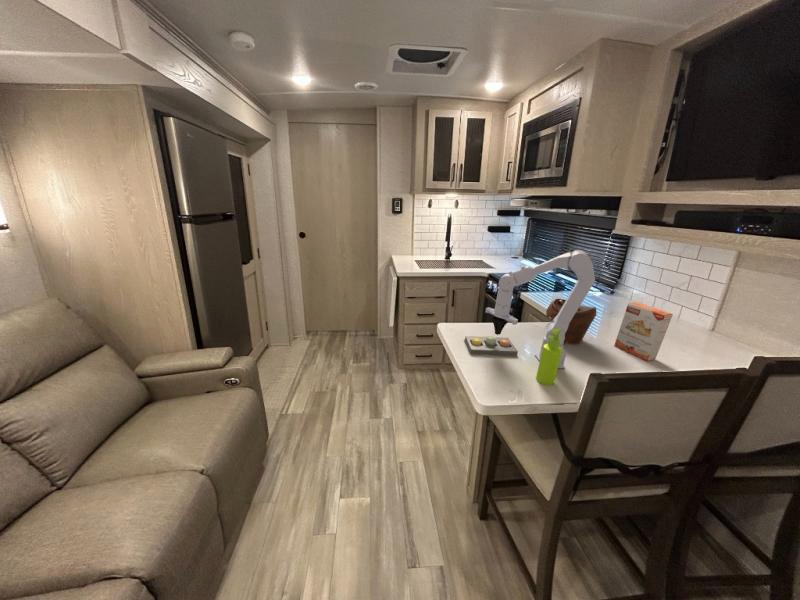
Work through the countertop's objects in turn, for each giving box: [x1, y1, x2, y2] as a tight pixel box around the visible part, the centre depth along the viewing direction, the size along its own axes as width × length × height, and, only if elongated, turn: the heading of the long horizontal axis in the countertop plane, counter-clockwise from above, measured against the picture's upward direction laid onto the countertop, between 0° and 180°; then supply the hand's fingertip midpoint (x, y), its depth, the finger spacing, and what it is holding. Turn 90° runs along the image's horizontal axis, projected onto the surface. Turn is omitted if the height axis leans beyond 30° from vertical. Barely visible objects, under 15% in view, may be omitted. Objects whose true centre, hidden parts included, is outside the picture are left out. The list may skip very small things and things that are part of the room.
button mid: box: [486, 335, 496, 346], centre depth 127 cm, size 4×4×3 cm
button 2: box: [499, 339, 511, 347], centre depth 128 cm, size 4×4×3 cm
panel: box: [464, 335, 519, 357], centre depth 128 cm, size 12×19×2 cm, turn 90°
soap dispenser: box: [535, 328, 562, 386], centre depth 104 cm, size 6×7×20 cm
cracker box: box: [613, 301, 673, 362], centre depth 127 cm, size 14×6×21 cm, turn 23°
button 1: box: [471, 338, 482, 346], centre depth 128 cm, size 4×4×3 cm
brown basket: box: [545, 298, 597, 345], centre depth 138 cm, size 18×20×18 cm
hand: (497, 333), depth 126 cm, fingers closed
